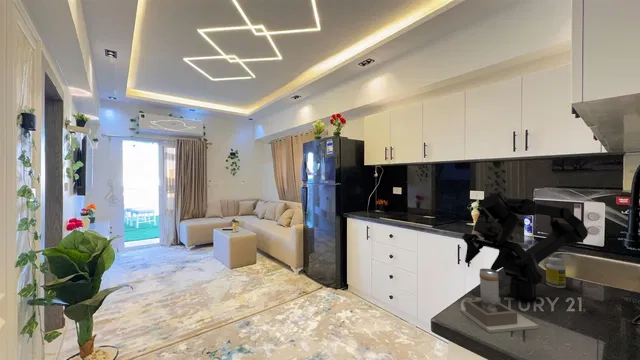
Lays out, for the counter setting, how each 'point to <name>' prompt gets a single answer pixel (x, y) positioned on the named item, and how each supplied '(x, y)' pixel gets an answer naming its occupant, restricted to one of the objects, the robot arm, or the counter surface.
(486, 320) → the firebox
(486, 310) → the grey metal tumbler
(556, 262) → the supplement bottle
